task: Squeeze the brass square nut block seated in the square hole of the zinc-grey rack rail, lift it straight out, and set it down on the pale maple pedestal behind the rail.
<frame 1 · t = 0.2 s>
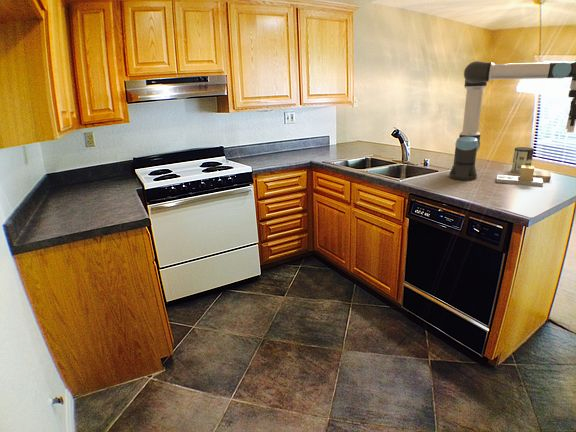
hand: (569, 130, 202), 27 cm above the countertop, fingers open, 13 cm apart
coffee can: (520, 171, 234), on the countertop
pedestal: (536, 178, 216), on the countertop
cage nut: (524, 182, 208), resting in rack rail
rack rail: (518, 181, 210), on the countertop
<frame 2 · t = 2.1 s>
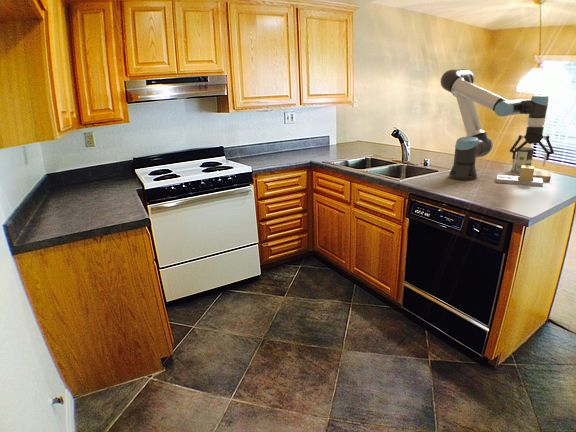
hand: (528, 165, 205), 10 cm above the countertop, fingers open, 13 cm apart
nothing on the countertop moved.
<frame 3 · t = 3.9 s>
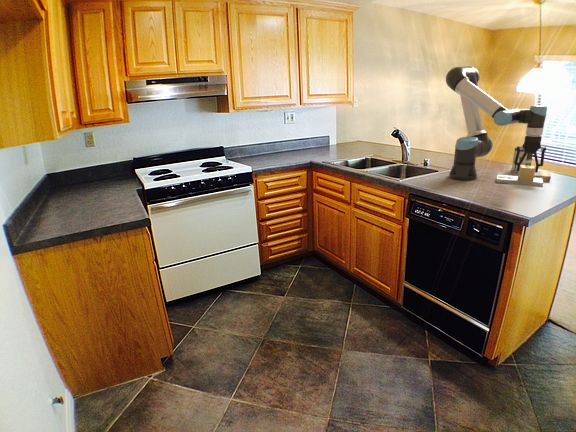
hand: (525, 177, 207), 3 cm above the countertop, fingers closed on cage nut, 6 cm apart
cage nut: (524, 182, 208), resting in rack rail, touching gripper
everything else where it was.
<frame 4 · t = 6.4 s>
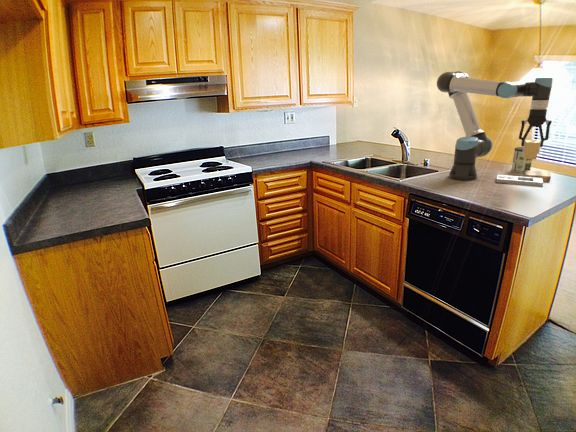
hand: (530, 152, 203), 17 cm above the countertop, fingers closed on cage nut, 6 cm apart
cage nut: (529, 158, 204), point 14 cm above the countertop, touching gripper
everything else where it was.
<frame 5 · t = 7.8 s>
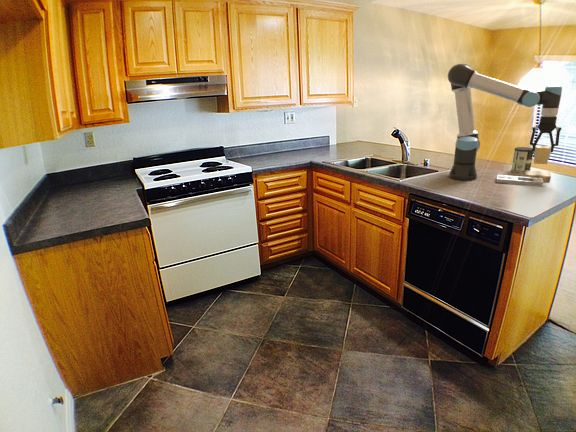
hand: (541, 157, 212), 12 cm above the countertop, fingers closed on cage nut, 6 cm apart
cage nut: (540, 162, 213), point 9 cm above the countertop, touching gripper
everything else where it was.
when the fingers open (7 cm above the countertop, at t = 9.0 s): cage nut drops 1 cm, resting on pedestal.
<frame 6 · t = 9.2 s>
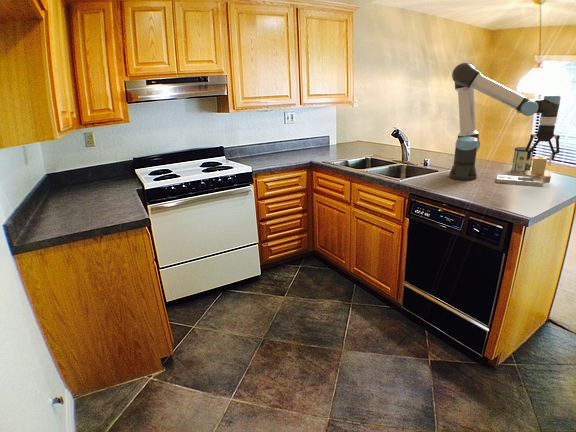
hand: (539, 164, 213), 8 cm above the countertop, fingers open, 9 cm apart
cage nut: (537, 173, 215), point 3 cm above the countertop, touching pedestal
everything else where it was.
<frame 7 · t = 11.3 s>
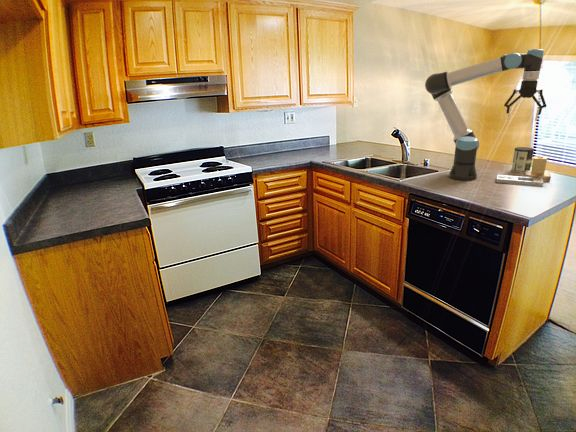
hand: (521, 119, 212), 33 cm above the countertop, fingers open, 13 cm apart
nothing on the countertop moved.
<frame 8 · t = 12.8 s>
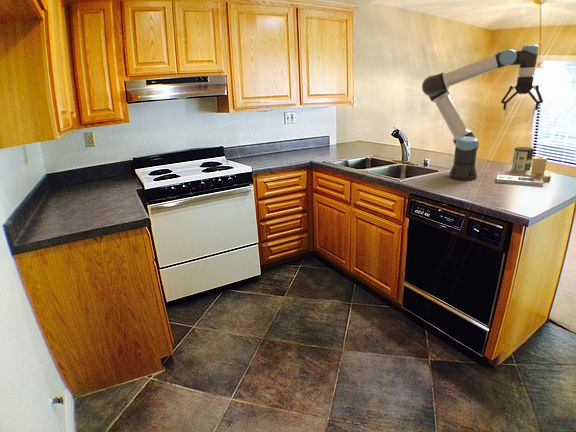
hand: (518, 116, 212), 35 cm above the countertop, fingers open, 13 cm apart
nothing on the countertop moved.
at the end: cage nut inside the target area on the pedestal (0.1 cm from its centre), point 3.0 cm above the pedestal's base; cage nut tilted 0°; cage nut touching pedestal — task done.
